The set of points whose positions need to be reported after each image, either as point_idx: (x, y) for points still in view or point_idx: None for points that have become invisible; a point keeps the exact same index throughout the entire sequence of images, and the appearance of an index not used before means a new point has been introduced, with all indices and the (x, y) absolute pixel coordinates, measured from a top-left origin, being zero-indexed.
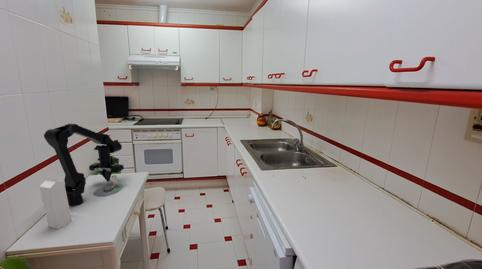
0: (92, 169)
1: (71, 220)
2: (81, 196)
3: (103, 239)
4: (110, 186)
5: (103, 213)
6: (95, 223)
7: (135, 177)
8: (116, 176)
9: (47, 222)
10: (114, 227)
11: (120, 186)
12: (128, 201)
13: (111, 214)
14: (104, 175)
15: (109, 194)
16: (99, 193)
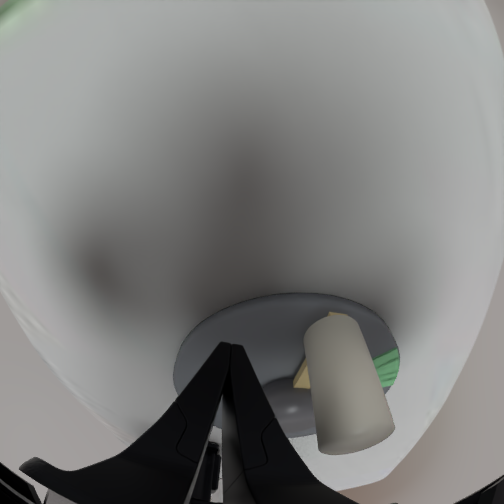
0: (20, 492)
1: None
2: (217, 489)
3: (369, 483)
4: (312, 406)
5: (344, 465)
6: (336, 478)
7: (444, 34)
8: (390, 429)
9: (212, 496)
10: (385, 471)
11: (384, 331)
12: (426, 418)
13: (371, 461)
14: (198, 471)
15: None
16: None
